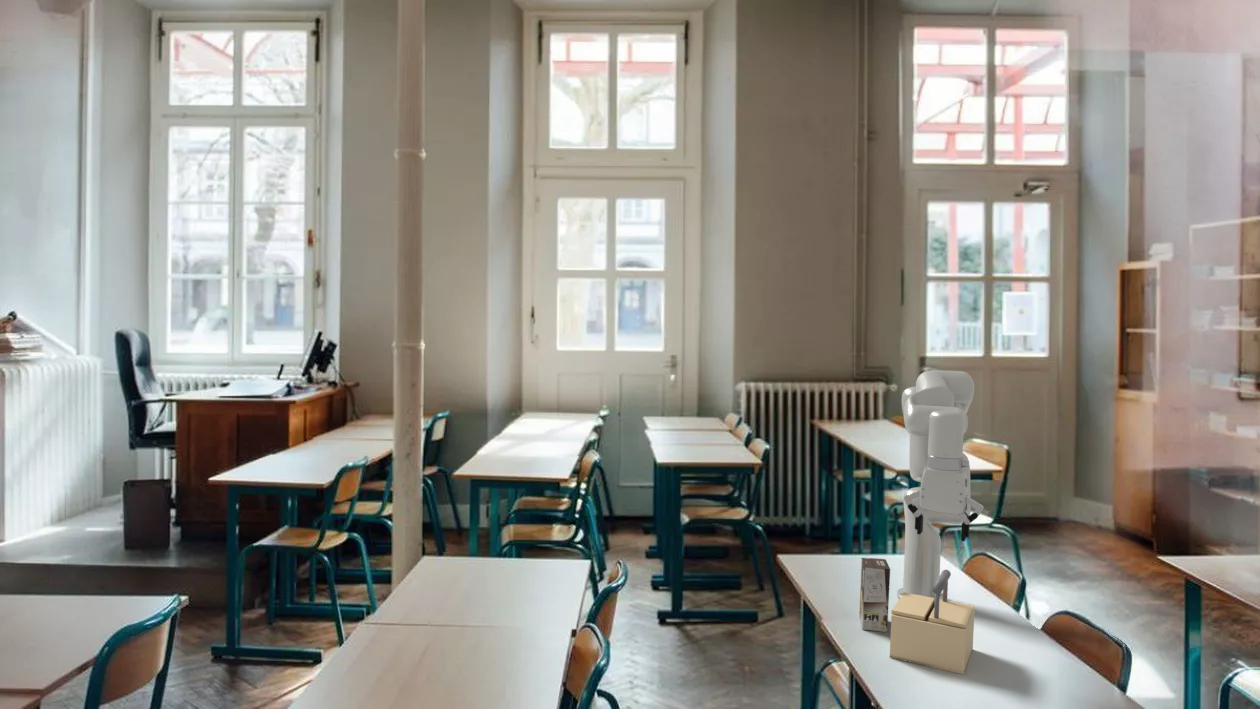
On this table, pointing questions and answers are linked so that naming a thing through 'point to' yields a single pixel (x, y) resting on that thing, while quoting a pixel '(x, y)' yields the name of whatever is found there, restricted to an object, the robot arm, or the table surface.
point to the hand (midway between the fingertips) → (941, 536)
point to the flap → (949, 606)
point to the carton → (928, 636)
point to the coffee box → (874, 594)
